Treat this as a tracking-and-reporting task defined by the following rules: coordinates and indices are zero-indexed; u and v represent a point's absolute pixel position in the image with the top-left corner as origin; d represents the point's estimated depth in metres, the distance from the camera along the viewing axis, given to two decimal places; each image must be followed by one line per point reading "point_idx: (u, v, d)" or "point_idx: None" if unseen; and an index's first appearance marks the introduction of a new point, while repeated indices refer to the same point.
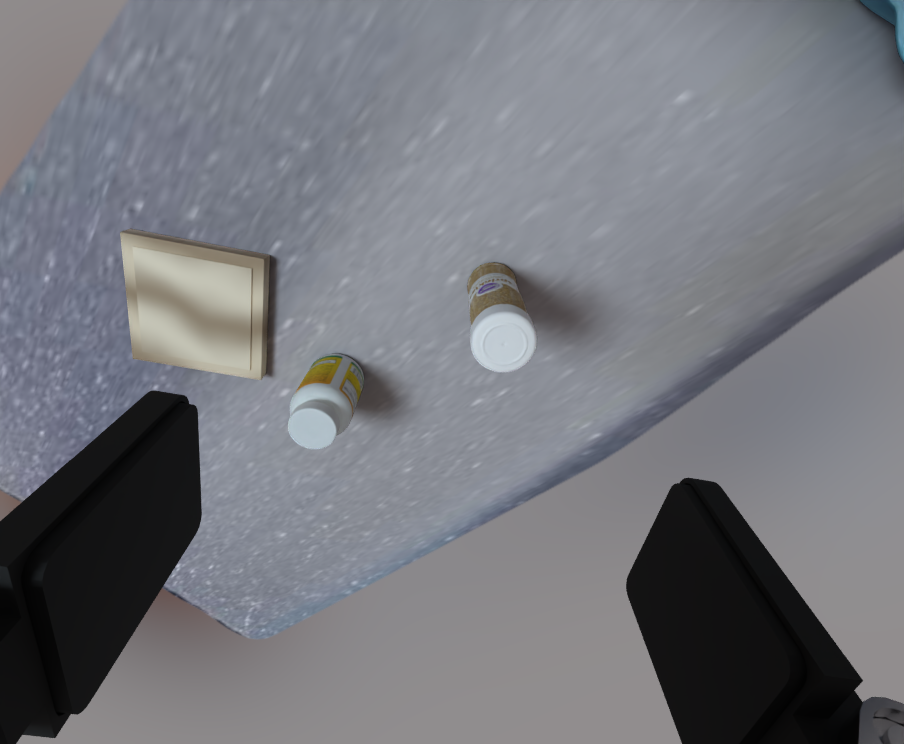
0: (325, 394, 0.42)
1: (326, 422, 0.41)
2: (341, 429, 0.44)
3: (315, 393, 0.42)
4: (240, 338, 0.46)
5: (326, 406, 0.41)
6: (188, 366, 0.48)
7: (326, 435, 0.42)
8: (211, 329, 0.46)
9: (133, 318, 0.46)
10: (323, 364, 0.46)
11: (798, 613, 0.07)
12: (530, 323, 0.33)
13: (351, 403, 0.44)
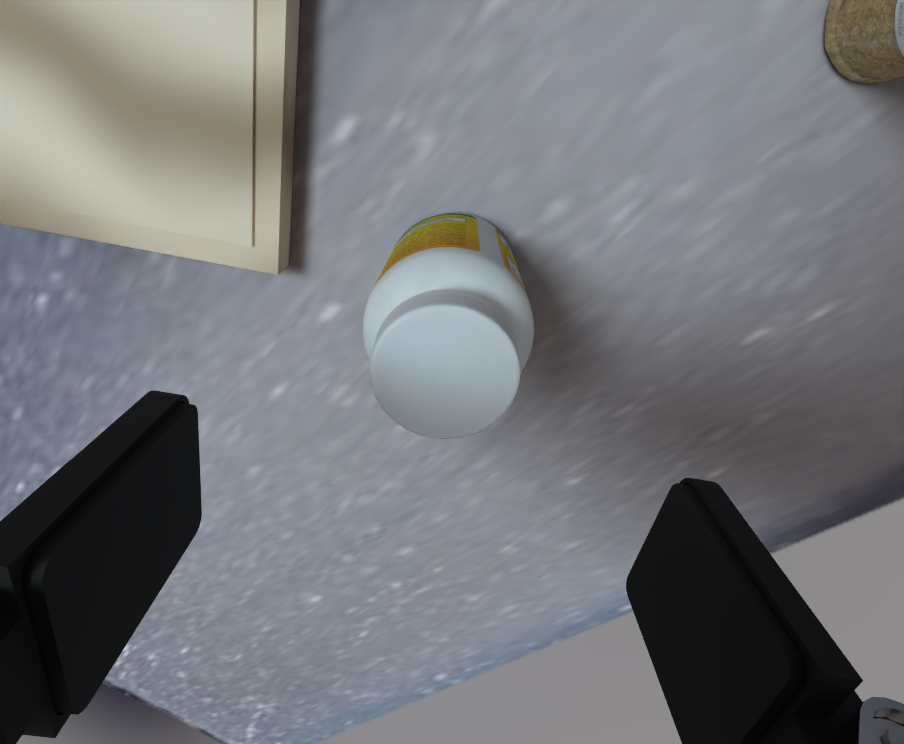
0: (477, 275, 0.14)
1: (493, 352, 0.13)
2: None
3: (445, 271, 0.14)
4: (226, 157, 0.18)
5: (489, 305, 0.13)
6: (103, 238, 0.20)
7: (485, 395, 0.13)
8: (151, 130, 0.18)
9: None
10: (438, 223, 0.18)
11: (798, 613, 0.07)
12: None
13: None
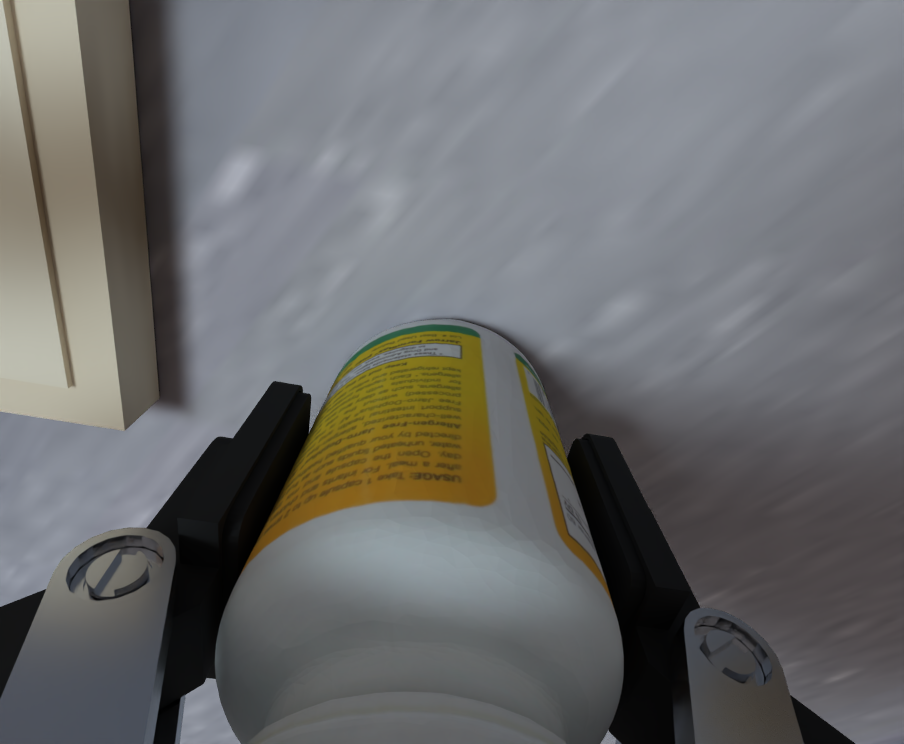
0: (490, 606, 0.05)
1: None
2: None
3: (404, 598, 0.05)
4: None
5: None
6: None
7: None
8: None
9: None
10: (406, 363, 0.09)
11: (650, 540, 0.08)
12: None
13: None
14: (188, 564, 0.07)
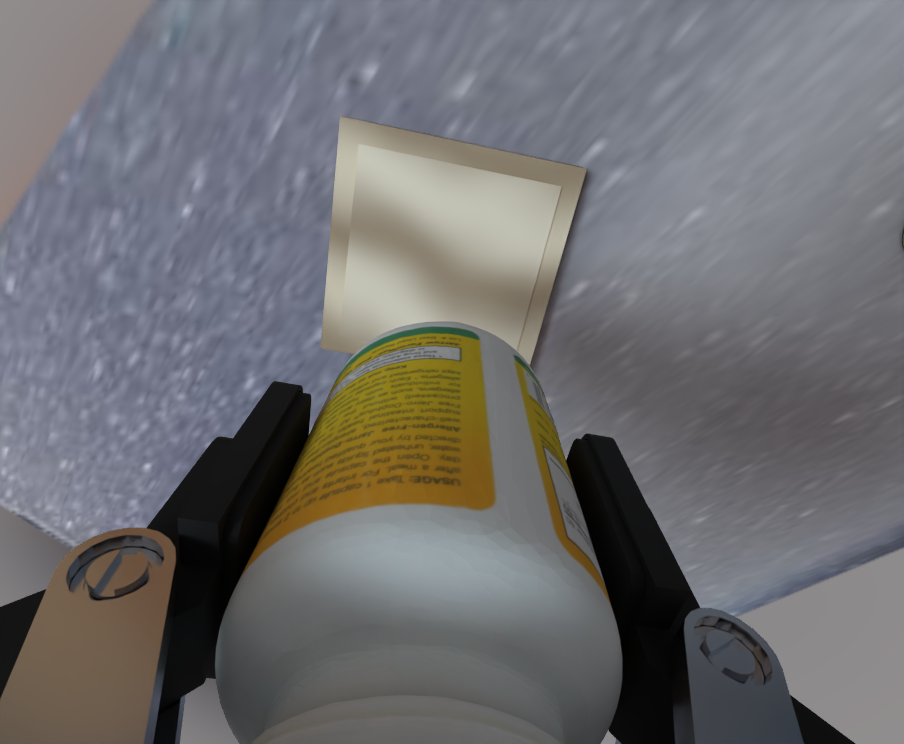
0: (490, 610, 0.05)
1: None
2: None
3: (404, 602, 0.05)
4: (510, 313, 0.27)
5: None
6: None
7: None
8: (464, 297, 0.27)
9: (334, 278, 0.27)
10: (405, 366, 0.09)
11: (650, 540, 0.08)
12: None
13: None
14: (188, 564, 0.07)
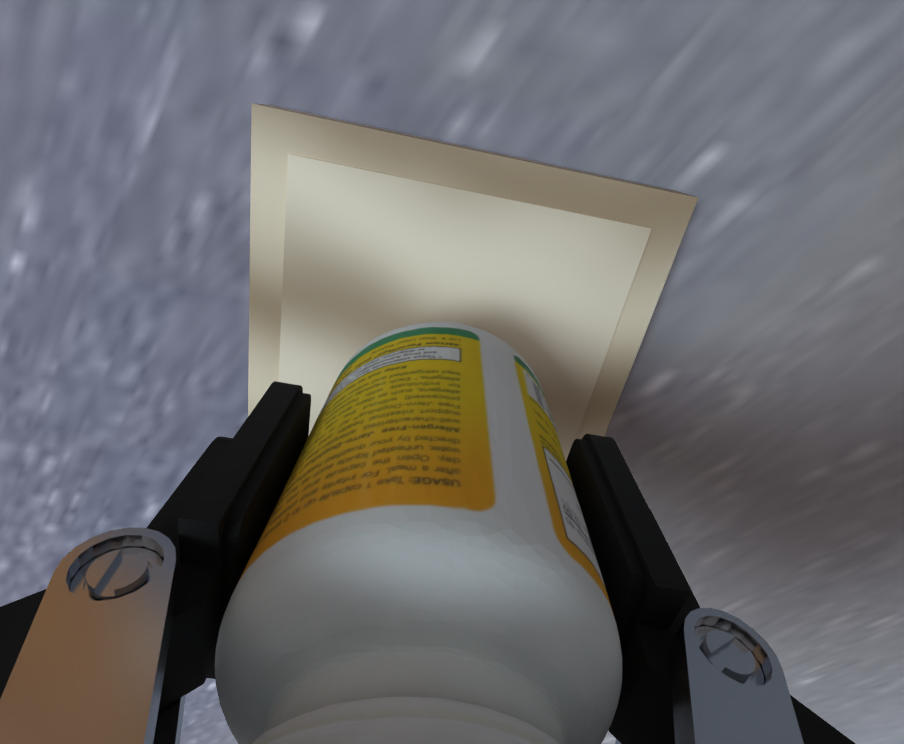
0: (489, 611, 0.05)
1: None
2: None
3: (403, 604, 0.05)
4: None
5: None
6: None
7: None
8: None
9: (261, 375, 0.16)
10: (405, 366, 0.09)
11: (650, 540, 0.08)
12: None
13: None
14: (188, 564, 0.07)
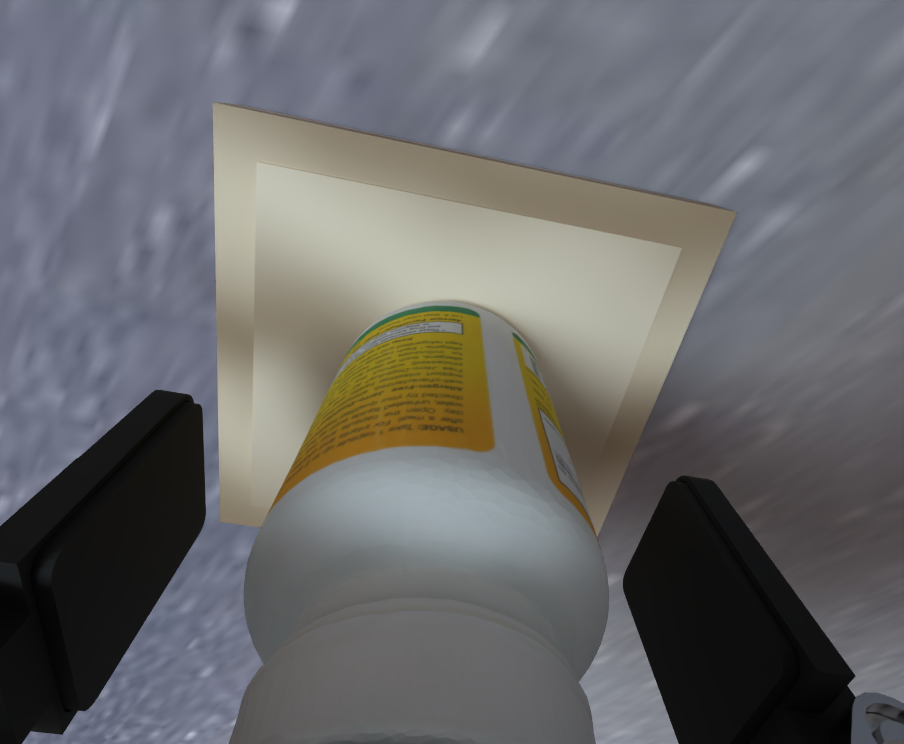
0: (489, 532, 0.06)
1: None
2: None
3: (415, 525, 0.06)
4: None
5: (527, 657, 0.05)
6: None
7: None
8: None
9: (233, 412, 0.14)
10: (411, 338, 0.10)
11: (792, 609, 0.07)
12: None
13: None
14: None
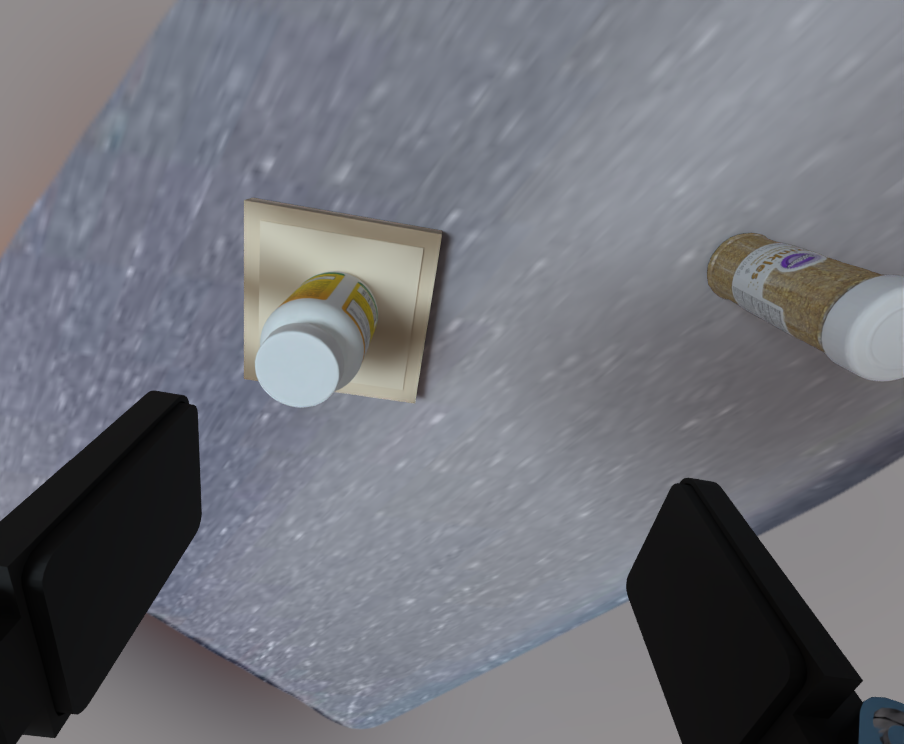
0: (319, 314, 0.25)
1: (321, 356, 0.24)
2: (346, 377, 0.27)
3: (301, 312, 0.25)
4: (395, 347, 0.34)
5: (321, 331, 0.24)
6: None
7: (321, 380, 0.24)
8: None
9: (250, 323, 0.33)
10: (315, 280, 0.29)
11: (798, 613, 0.07)
12: None
13: (363, 334, 0.27)
14: None
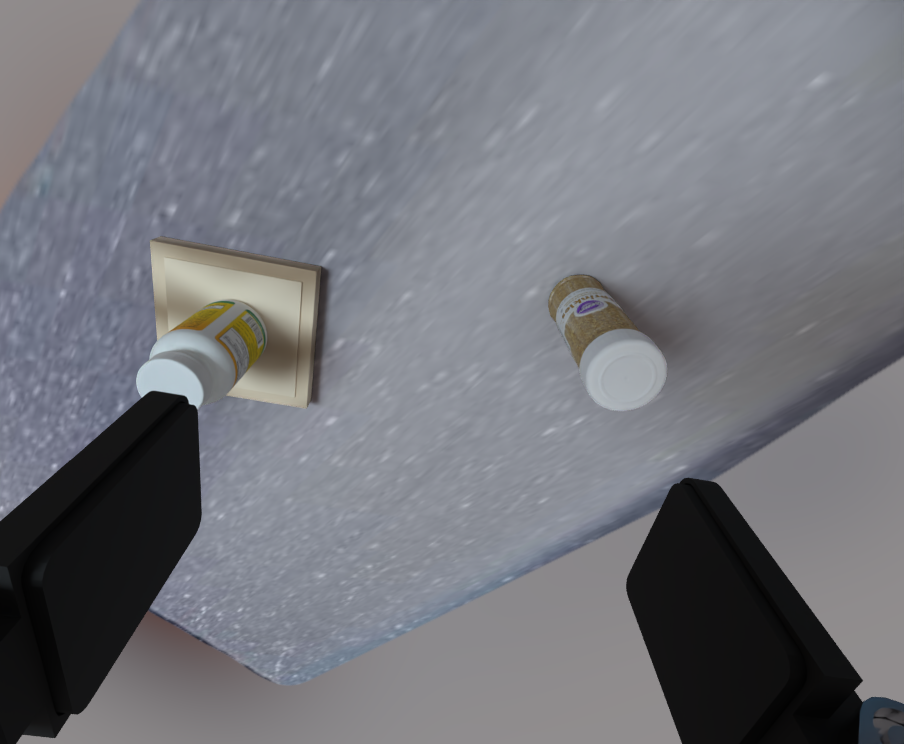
0: (192, 343, 0.31)
1: (187, 378, 0.30)
2: (220, 392, 0.33)
3: (178, 341, 0.31)
4: (285, 361, 0.40)
5: (190, 357, 0.30)
6: None
7: (189, 396, 0.31)
8: None
9: None
10: (205, 310, 0.36)
11: (798, 613, 0.07)
12: (661, 353, 0.27)
13: (234, 357, 0.33)
14: None
